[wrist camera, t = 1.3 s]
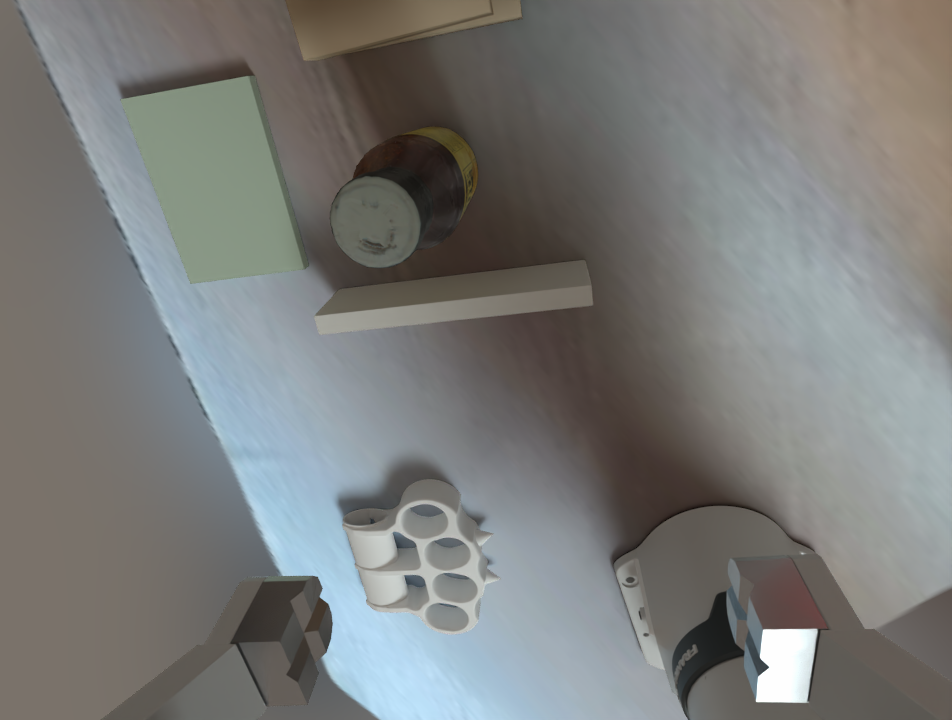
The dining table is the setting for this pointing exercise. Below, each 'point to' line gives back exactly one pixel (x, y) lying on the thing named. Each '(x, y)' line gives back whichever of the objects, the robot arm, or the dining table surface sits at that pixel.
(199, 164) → the green mat
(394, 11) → the offcut upper
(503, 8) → the offcut lower
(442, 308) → the rail
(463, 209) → the sauce bottle
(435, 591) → the white hole rack
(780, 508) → the dining table surface
